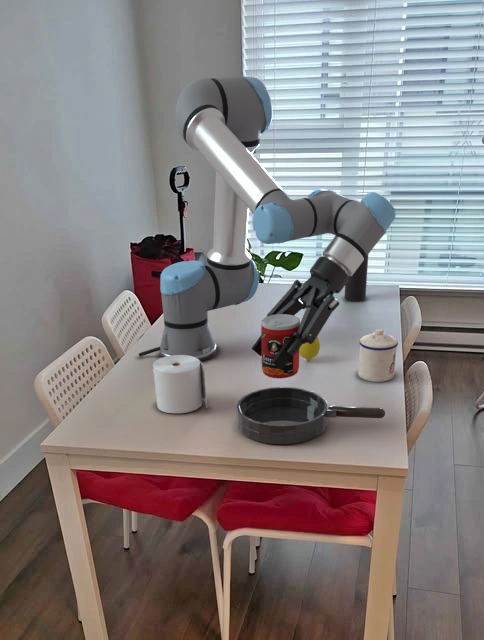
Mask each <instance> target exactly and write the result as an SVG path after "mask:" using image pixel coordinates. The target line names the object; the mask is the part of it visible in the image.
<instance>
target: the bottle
mask: <svg viewBox="0 0 484 640" xmlns="http://www.w3.org/2000/svg"><path fill="white" fill-rule="evenodd" d="M368 267H369V254H368V255H367V257H366V258H365V259H364V261H363V262H362V263H361V264H360V266H359V267H358V269H357V270H356V271H355V273H354V274H353V275H352V276H348V277H349V281H348V282H347V283H346V285H345V286H344V300H346V301H348V302H362V301H364V300H366V297H367V282H368Z"/></svg>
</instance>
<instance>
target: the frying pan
mask: <svg viewBox="0 0 484 640" xmlns="http://www.w3.org/2000/svg"><path fill="white" fill-rule="evenodd" d="M328 405H329V404H328V401H327V400H326V399H325V398H324V397H323V396H321V395H320V394H318V393H316V392H315V391H311V390H308V389H303V388H299V387H291V386H276V387H267V388H262V389H258V390H255V391H252V392H249V393H247V394H246V395H244V396H242V397H241V398H240V399H239V400H238V401H237V404H236V423H237V428H238V430H239V431H240V432H241V433H242V434H243V435H244V436H246V437H247V438H249V439H252V440H255V441H257V442H261V443H266V444H275V445H290V444H298V443H302V442H307V441H310V440H312V439H315V438H316V437H318V436H320V435H321V434H322V433H324V431H325V430H326V429H327V427H328V417H327V408H328Z"/></svg>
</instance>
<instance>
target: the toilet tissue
mask: <svg viewBox="0 0 484 640" xmlns="http://www.w3.org/2000/svg"><path fill="white" fill-rule="evenodd" d="M152 373H153V383H154V392H155V400H156V401H155V402H156V407H157V408H158V410H159V411H162V412H163V413H168V414H185V413H191V412H193V411H196V410H198V409H199V408H200V407H202V405H203V402H204V403H205V406H206V407H208V401H207V388H206V373H205V366H204V363H203V362H202V361H200V360H198V359H197V358H195V357H192V356H188V355H172V356H167V357H163V358H162V357H159V358H158V359H156V360H154V362H153V363H152Z"/></svg>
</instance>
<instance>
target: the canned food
mask: <svg viewBox="0 0 484 640" xmlns="http://www.w3.org/2000/svg"><path fill="white" fill-rule="evenodd" d="M300 323H301V320H300V318H299V317H297V316H296V315H294V316H293V315H288V314H276V315H270V316H267V315H266V316H265V317H263V318H262V319H261V324H260V336H261V346H262V356H261V370H262V373H263V375H264V376H266V377H268V378H271V379H289V378H291V377H293V376H295V375H296V374H298V372H299V369H300V353H299V349H300V348H299V349H298V350H297V352H296V353H295V355H293V356H292V357H291V358H290V360H289V361H288V362H287V363H286V365H285V366H284V367H283V369H282V370H281V369H279V368H278V367H277V366H276V365H275V364H273V363H272V360H273V359H274V358H275V356H276V355H277V354H278V352H279V351H280V350H281V348H282V347H283V346H284V344H285V343H286V342H287V340H288V339H289V338H290V337H291V335H292V336H294V335H293V333H296V332H297V330H298V327H299V325H300ZM294 337H295V336H294ZM295 338H296V337H295Z"/></svg>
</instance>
